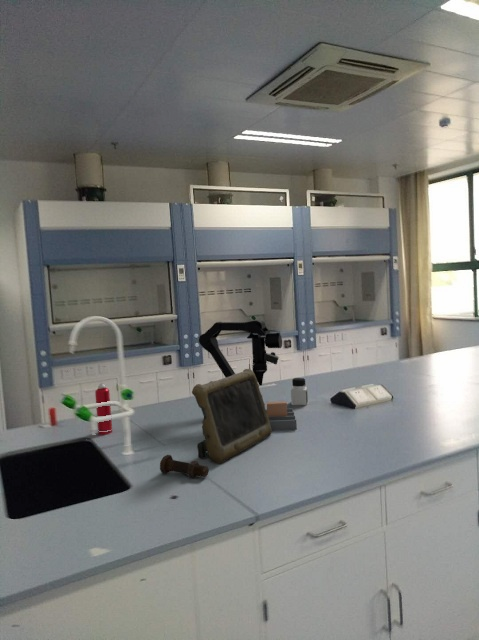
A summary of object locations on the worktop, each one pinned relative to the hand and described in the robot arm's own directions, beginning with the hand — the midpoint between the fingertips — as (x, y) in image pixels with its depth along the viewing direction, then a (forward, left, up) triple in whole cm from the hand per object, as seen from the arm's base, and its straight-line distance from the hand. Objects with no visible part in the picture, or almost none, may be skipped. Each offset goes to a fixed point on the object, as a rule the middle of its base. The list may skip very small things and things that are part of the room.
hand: (260, 383), depth 198 cm
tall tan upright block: (+6, -18, -12) cm, 23 cm away
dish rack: (+6, -18, -13) cm, 23 cm away
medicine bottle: (+18, +12, -13) cm, 25 cm away
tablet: (-10, -42, -13) cm, 45 cm away
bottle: (-64, -20, -13) cm, 68 cm away
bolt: (-24, -65, -13) cm, 71 cm away
